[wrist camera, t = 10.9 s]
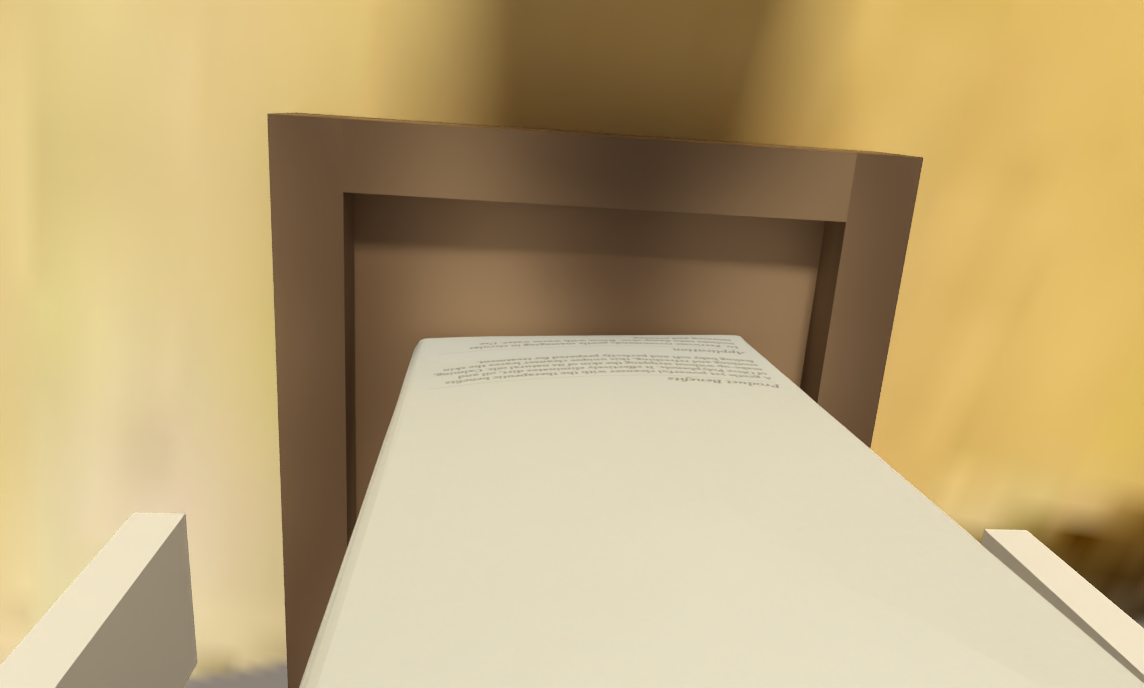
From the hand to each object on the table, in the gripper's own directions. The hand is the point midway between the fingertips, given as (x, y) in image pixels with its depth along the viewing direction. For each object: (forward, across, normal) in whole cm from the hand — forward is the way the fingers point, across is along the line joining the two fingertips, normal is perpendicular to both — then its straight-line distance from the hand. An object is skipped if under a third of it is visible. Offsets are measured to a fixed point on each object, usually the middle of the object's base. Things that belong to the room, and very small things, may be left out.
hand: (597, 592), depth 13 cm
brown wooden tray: (+8, 0, 0) cm, 8 cm away
